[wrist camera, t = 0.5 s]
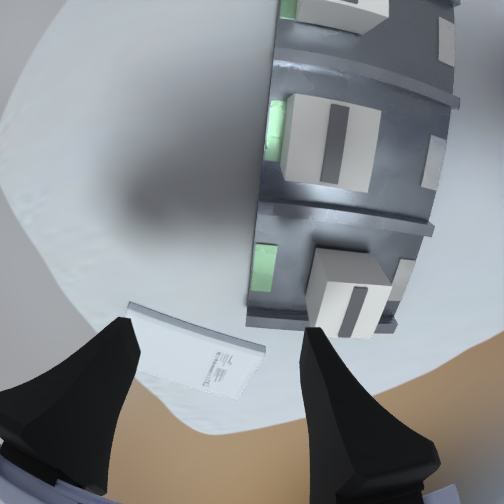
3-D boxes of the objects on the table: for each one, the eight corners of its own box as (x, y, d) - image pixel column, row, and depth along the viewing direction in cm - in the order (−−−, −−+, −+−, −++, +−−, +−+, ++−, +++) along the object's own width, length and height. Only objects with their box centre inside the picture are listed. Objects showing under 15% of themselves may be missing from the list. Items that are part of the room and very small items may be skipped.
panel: (444, 0, 11) (459, -6, 9) (385, 316, 23) (393, 333, 21) (284, -48, 11) (286, -63, 9) (246, 308, 23) (245, 326, 21)
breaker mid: (355, 110, 15) (383, 110, 11) (345, 174, 16) (368, 193, 13) (287, 98, 15) (295, 93, 11) (279, 165, 16) (285, 181, 13)
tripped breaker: (371, 253, 19) (393, 288, 15) (356, 301, 21) (372, 340, 17) (316, 247, 19) (328, 283, 15) (305, 298, 20) (312, 338, 17)
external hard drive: (132, 298, 24) (266, 342, 25) (126, 354, 27) (237, 390, 29) (125, 309, 22) (266, 355, 24) (121, 365, 26) (235, 402, 27)
